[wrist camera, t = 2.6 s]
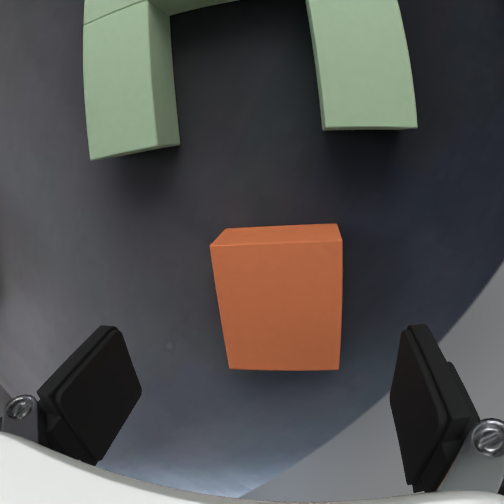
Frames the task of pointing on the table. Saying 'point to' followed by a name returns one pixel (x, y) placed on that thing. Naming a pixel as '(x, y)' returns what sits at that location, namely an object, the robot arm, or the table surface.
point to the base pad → (162, 78)
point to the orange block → (280, 296)
